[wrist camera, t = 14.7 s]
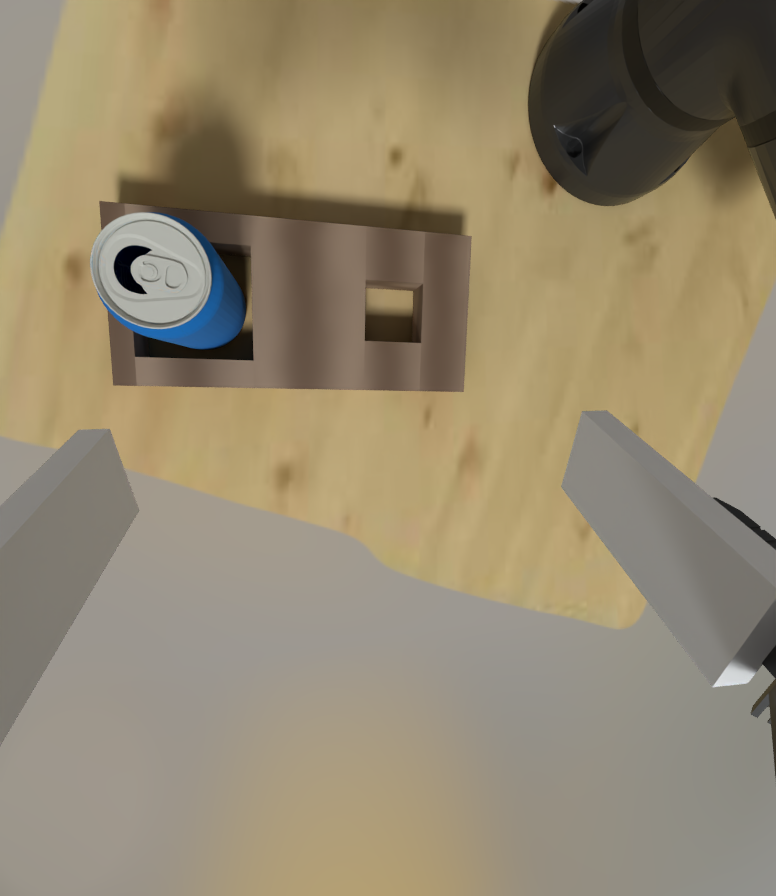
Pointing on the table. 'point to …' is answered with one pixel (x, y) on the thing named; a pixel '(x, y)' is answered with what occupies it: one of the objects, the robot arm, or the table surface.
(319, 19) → the table surface
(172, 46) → the table surface
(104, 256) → the beverage can
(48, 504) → the robot arm
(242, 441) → the table surface
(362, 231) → the hole board
